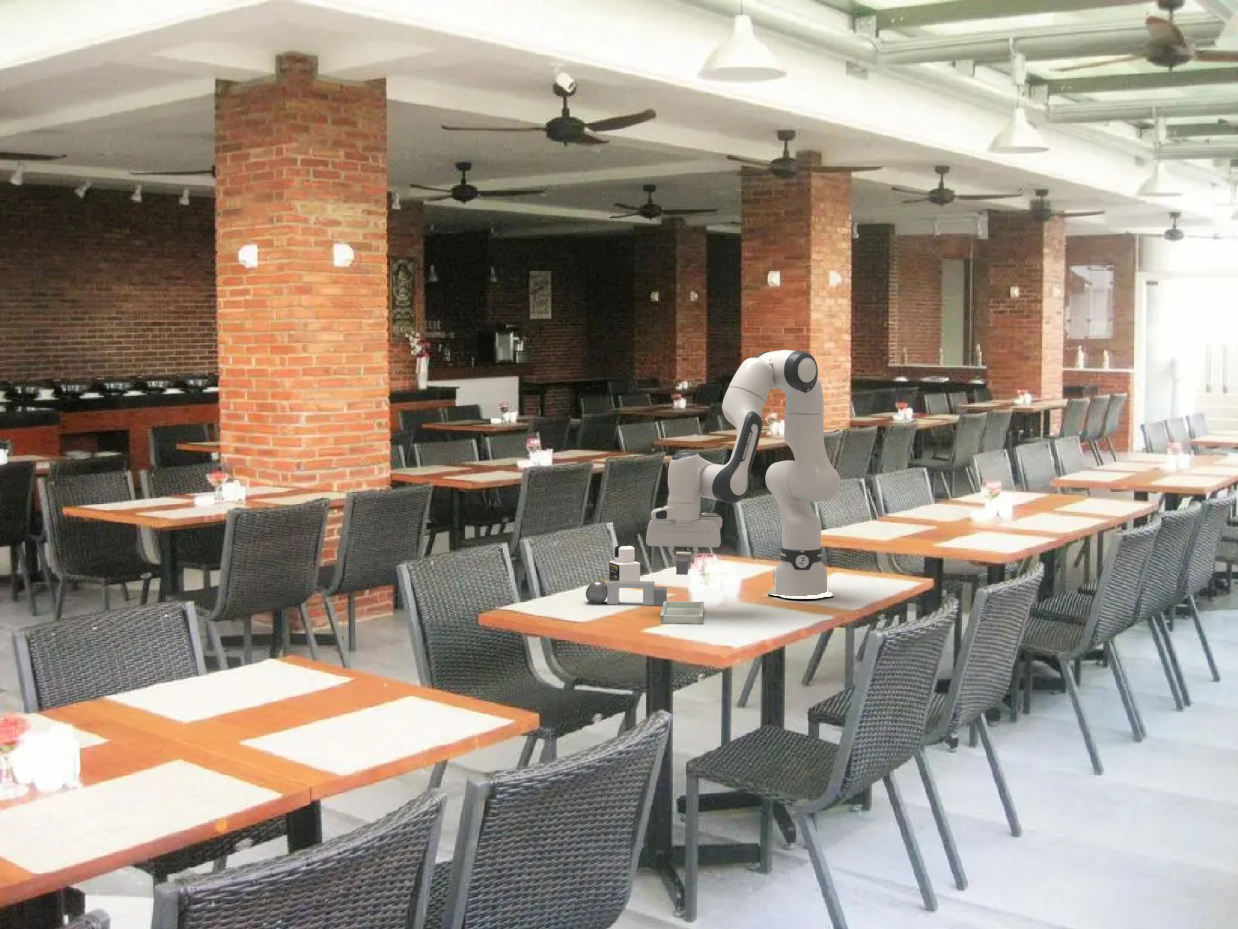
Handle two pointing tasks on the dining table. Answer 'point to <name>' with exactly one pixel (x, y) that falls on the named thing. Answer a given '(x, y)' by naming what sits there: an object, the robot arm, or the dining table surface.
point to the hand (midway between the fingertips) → (683, 563)
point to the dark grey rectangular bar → (683, 563)
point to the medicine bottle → (624, 565)
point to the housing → (601, 590)
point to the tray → (682, 612)
